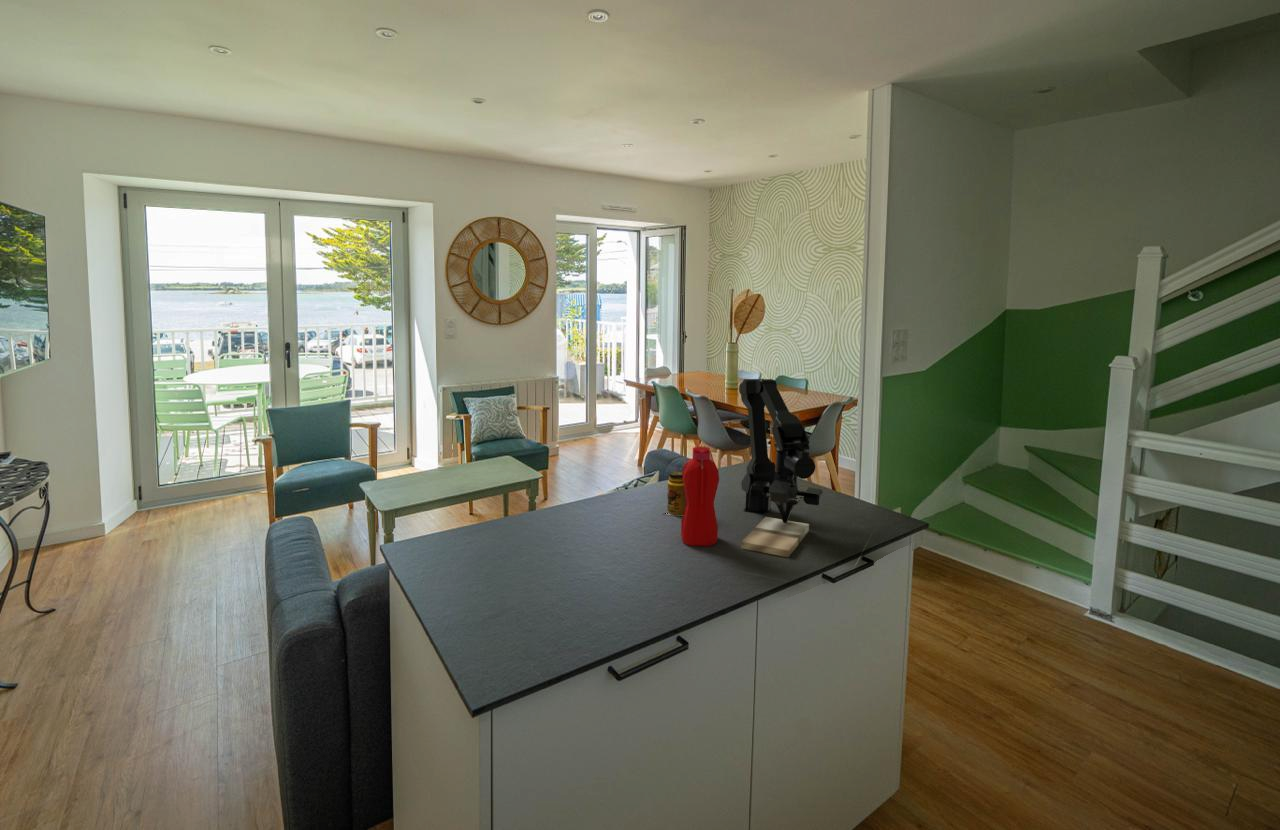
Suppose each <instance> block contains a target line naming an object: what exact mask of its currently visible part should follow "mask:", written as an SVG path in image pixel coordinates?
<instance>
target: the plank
mask: <svg viewBox="0 0 1280 830" xmlns="http://www.w3.org/2000/svg"><path fill="white" fill-rule="evenodd" d="M755 530H760V531H766V532H772V533H777V534H783V535H788V536H794V537H799V543H801V542H802V541H803V540H804V538H805V537H806V535H807V534H808V533H809V531H810V523H805V522H800V521H799V522H798V521H794V520H793V521H792V520H788V521H787V523H783V520H782V518H775V517H769V516H765V517H764V518H763V519H762V520H761V521H760V522H759V523H758V524H757V525H755Z"/></svg>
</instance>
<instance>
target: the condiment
mask: <svg viewBox="0 0 1280 830" xmlns="http://www.w3.org/2000/svg"><path fill="white" fill-rule="evenodd" d="M682 474H683V470H674V471H670V472H669V473H668V481H667V502H666V504H667V510H668V514H667V513H666V514H665V515H666V516H667V515H669V516H676V517H683V514H684V509H685V505H686V497H685V490H684V484H683V478H682Z"/></svg>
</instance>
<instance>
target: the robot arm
mask: <svg viewBox="0 0 1280 830" xmlns="http://www.w3.org/2000/svg"><path fill="white" fill-rule="evenodd" d="M777 386H778V383H777V381H776V380H775V379H772V378H747V379H746V378H745V379H743V380H742V382H740V383H739V386H738V390H739V391H738V392H739V395H740V398H741V402H742V403H743V405H744V406H745V407H746V409H747V414H748V429H749V430H748V431H749V443H750V455H751V458H750V461H749V462H748V464H747V466H746V474H745V475H744V476H743V478H742V480H741V483H740V484H741V490H742V491H743V492H745V508H743V512H746V513H751V514H757V515H766V514H767V513H768V512H769V511H770V510H771V509H772V508H771V506H772V505H771V504H772V503H774V504H776V507H777V509H778V511H779V514H780V516H781V517H780V518H781V519H782V520H783V523H787V521H789V519H790V516H791V514H792V511H793V508H794V507H795V506H797V505H798V504H799V503H800V502H801V500H803V502H804V503H805V505H811V506H819V505H820V504H821V503H822V502H823V500H824V494H825V493H824V491H823V490H822V489H821V488H815V487H808V488H807V489H806V490H799V489H798V488H799V483H798V480H799V479H803V480H806V479H809V478H811V476H813V474H814V473H815V470H816V464H815V461H814V459H812V458H811V457H810V452H809V451H808V450H810V445H809V444H810V440H809V438H808V435H807V432H806V428H805V426H804V424H803V423H802V421H801V420H800V418H799V417H798V416H797V415H795V414H793V413H791V412H790V411H789V408H788V406H787V405H786V402H785V401H784V398H783V397H782V394H781V393H780V391H779V388H778V387H777ZM765 407H766V409H767V411H768V413H769V416H770V417H771V418H770V419H772V422H773V424H772V427H771V431H772V437H773V439H774V441H775V443H774V444H773V446H774V448H776V456H775V459H776V460H775V462H774V461H773V462H772V461H771V459H770V457H769V456H768V455H769V453H768V443H767V441H768V439H767V426H766V414H765ZM798 478H799V479H798Z"/></svg>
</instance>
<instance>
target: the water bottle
mask: <svg viewBox="0 0 1280 830" xmlns="http://www.w3.org/2000/svg"><path fill="white" fill-rule="evenodd" d="M710 453H711V449H710V447H708V446H694V447H692V458H691V459H689V460H687V461H686V462H685V463H684V466H683V468H682V471H683V474H682V478H683V484H684V490H685V497H686V505H685V509H684V514H683V516H682V518H681V523H680V526H681V527H680V536H681V541H682V542H683V543H684V544H685V545H688V546H690V547H711V546H714V545H715V544H716V543H717V541H718V538H719V537H718V535H719V533H718V532H719V529H718V521H717V515H716V510H715V500H716V498H715V497H716V494H717V490H718V487H719V483H720V475H719V470H718V467H717V464H716V463H715V462H714V461H713V460H712V459H711V458H710V457H711V456H710V455H711V454H710Z"/></svg>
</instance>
